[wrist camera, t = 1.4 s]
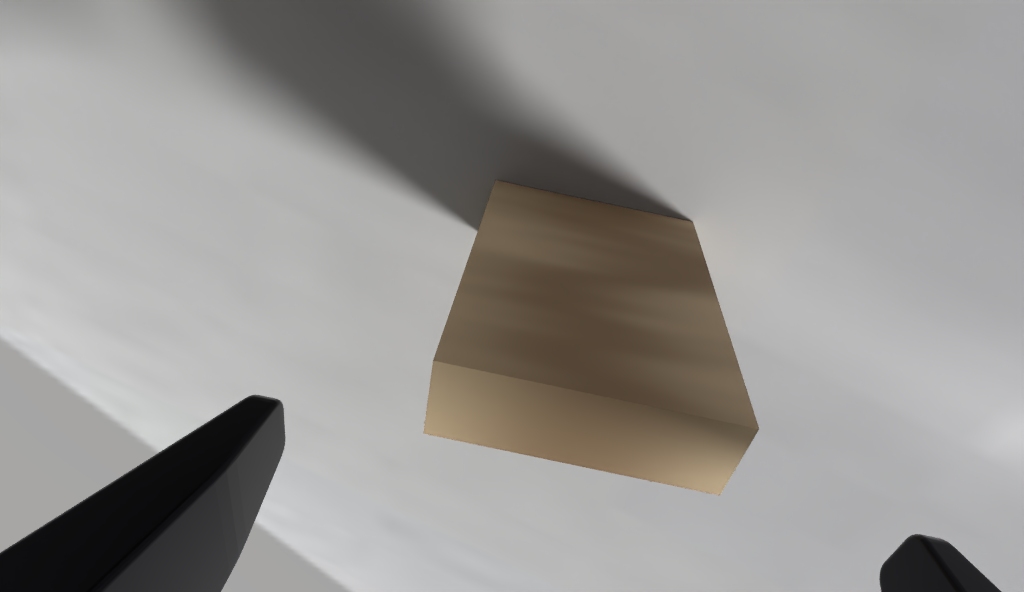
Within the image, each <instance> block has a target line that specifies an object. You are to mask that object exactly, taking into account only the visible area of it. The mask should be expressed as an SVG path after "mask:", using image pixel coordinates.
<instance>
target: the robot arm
mask: <svg viewBox="0 0 1024 592" xmlns="http://www.w3.org/2000/svg"><path fill="white" fill-rule="evenodd" d="M284 446H285V425H284V408H283V404H282V402H281V401H280V400H278V399H275V398H270V397H265V396H260V395H251V396H249V397H247V398H245V399H243V400H242V401H240V402H239V403H237V404H235V405H234V406H232V407H231V408H229V409H228V410H226V411H224V412H223V413H221V414H220V415H218V416H216V417H215V418H213V419H212V420H210V421H208V422H207V423H205V424H204V425H202V426H201V427H199V428H197V429H196V430H194V431H193V432H191V433H189V434H188V435H186V436H185V437H183V438H182V439H180V440H178V441H177V442H175V443H174V444H172V445H170V446H169V447H167V448H166V449H164V450H162V451H161V452H159V453H158V454H156V455H155V456H153V457H151V458H150V459H148V460H147V461H145V462H144V463H142V464H140V465H139V466H137V467H136V468H134V469H132V470H131V471H129V472H128V473H126V474H124V475H123V476H121V477H120V478H118V479H117V480H115V481H113V482H112V483H110V484H109V485H107V486H106V487H104V488H102V489H101V490H99V491H98V492H96V493H94V494H93V495H91V496H90V497H88V498H86V499H85V500H83V501H82V502H80V503H79V504H77V505H76V506H74V507H72V508H71V509H69V510H68V511H66V512H64V513H63V514H61V515H59V516H58V517H56V518H55V519H53V520H52V521H50V522H48V523H47V524H45V525H44V526H42V527H40V528H39V529H37V530H36V531H34V532H33V533H31V534H29V535H28V536H26V537H25V538H23V539H21V540H20V541H18V542H17V543H15V544H13V545H12V546H10V547H9V548H7V549H6V550H4V551H2V552H1V553H0V592H221V590H222V589H223V587H224V585H225V583H226V581H227V579H228V578H229V576H230V574H231V572H232V570H233V568H234V566H235V564H236V562H237V560H238V558H239V556H240V554H241V552H242V550H243V547H244V545H245V543H246V540H247V538H248V536H249V533H250V531H251V528H252V526H253V524H254V521H255V519H256V516H257V514H258V512H259V509H260V507H261V504H262V502H263V500H264V497H265V495H266V492H267V490H268V488H269V485H270V483H271V480H272V478H273V476H274V473H275V471H276V468H277V466H278V464H279V461H280V459H281V456H282V453H283V450H284ZM880 586H881V592H1001V591H1000V590H999V589H998V588H997V587H996V586H995V585H994V584H993V583H992V582H991V581H989V580H988V579H987V578H986V577H985V576H984V575H983V574H982V573H981V572H980V571H979V570H978V569H977V568H976V567H975V566H974V565H973V564H972V563H970V562H969V561H968V560H967V559H966V558H965V557H964V556H963V555H962V554H961V553H960V552H959V551H958V550H957V549H956V548H955V547H954V546H952V545H951V544H950V543H948V542H947V541H945V540H943V539H939V538H935V537H930V536H925V535H920V534H915V535H911V536H909V537H908V538H907V539H906V540H905V541H904V542H903V543H902V544H901V545H900V546H899V547H898V549H897V550H896V551H895V552H894V553H893V554H892V555H891V556H890V557H889V558H888V559H887V560H886V561H885V562H884V564H883V565H882V568H881V571H880Z"/></svg>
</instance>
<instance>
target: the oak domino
mask: <svg viewBox="0 0 1024 592" xmlns="http://www.w3.org/2000/svg"><path fill="white" fill-rule="evenodd" d="M758 430H759V427H758V424H757V421H756V418H755V415H754V411H753V408H752V405H751V402H750V399H749V396H748V393H747V389H746V386H745V383H744V380H743V377H742V374H741V371H740V368H739V364H738V361H737V358H736V355H735V352H734V349H733V346H732V342H731V339H730V336H729V333H728V330H727V327H726V324H725V321H724V317H723V314H722V311H721V308H720V305H719V302H718V299H717V296H716V292H715V289H714V286H713V283H712V280H711V277H710V274H709V270H708V267H707V264H706V261H705V258H704V255H703V252H702V249H701V245H700V242H699V239H698V236H697V233H696V230H695V227H694V224H693V222H691V221H687V220H682V219H677V218H672V217H668V216H663V215H658V214H653V213H649V212H644V211H639V210H635V209H630V208H625V207H620V206H616V205H611V204H606V203H601V202H597V201H592V200H587V199H583V198H578V197H573V196H568V195H564V194H559V193H554V192H549V191H545V190H540V189H535V188H531V187H526V186H521V185H516V184H512V183H507V182H502V181H497V180H495V183H494V186H493V189H492V192H491V195H490V198H489V201H488V203H487V206H486V209H485V212H484V215H483V218H482V221H481V224H480V227H479V229H478V232H477V235H476V238H475V241H474V244H473V247H472V250H471V253H470V256H469V258H468V261H467V264H466V267H465V270H464V273H463V276H462V279H461V282H460V285H459V287H458V290H457V293H456V296H455V299H454V302H453V305H452V308H451V311H450V313H449V316H448V319H447V322H446V325H445V328H444V331H443V334H442V337H441V340H440V342H439V345H438V348H437V351H436V354H435V357H434V360H433V366H432V373H431V381H430V388H429V396H428V403H427V411H426V419H425V426H424V434H428V435H433V436H438V437H443V438H448V439H452V440H457V441H462V442H467V443H471V444H476V445H481V446H486V447H491V448H495V449H500V450H505V451H510V452H515V453H519V454H524V455H529V456H534V457H538V458H543V459H548V460H553V461H558V462H562V463H567V464H572V465H577V466H582V467H586V468H591V469H596V470H601V471H605V472H610V473H615V474H620V475H625V476H629V477H634V478H639V479H644V480H649V481H653V482H658V483H663V484H668V485H673V486H677V487H682V488H687V489H692V490H696V491H701V492H706V493H711V494H716V495H720V494H721V493H722V491H723V489H724V487H725V486H726V484H727V482H728V481H729V479H730V477H731V476H732V474H733V472H734V471H735V469H736V467H737V466H738V464H739V462H740V460H741V459H742V457H743V455H744V454H745V452H746V450H747V449H748V447H749V445H750V444H751V442H752V440H753V439H754V437H755V435H756V433H757V432H758Z"/></svg>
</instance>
